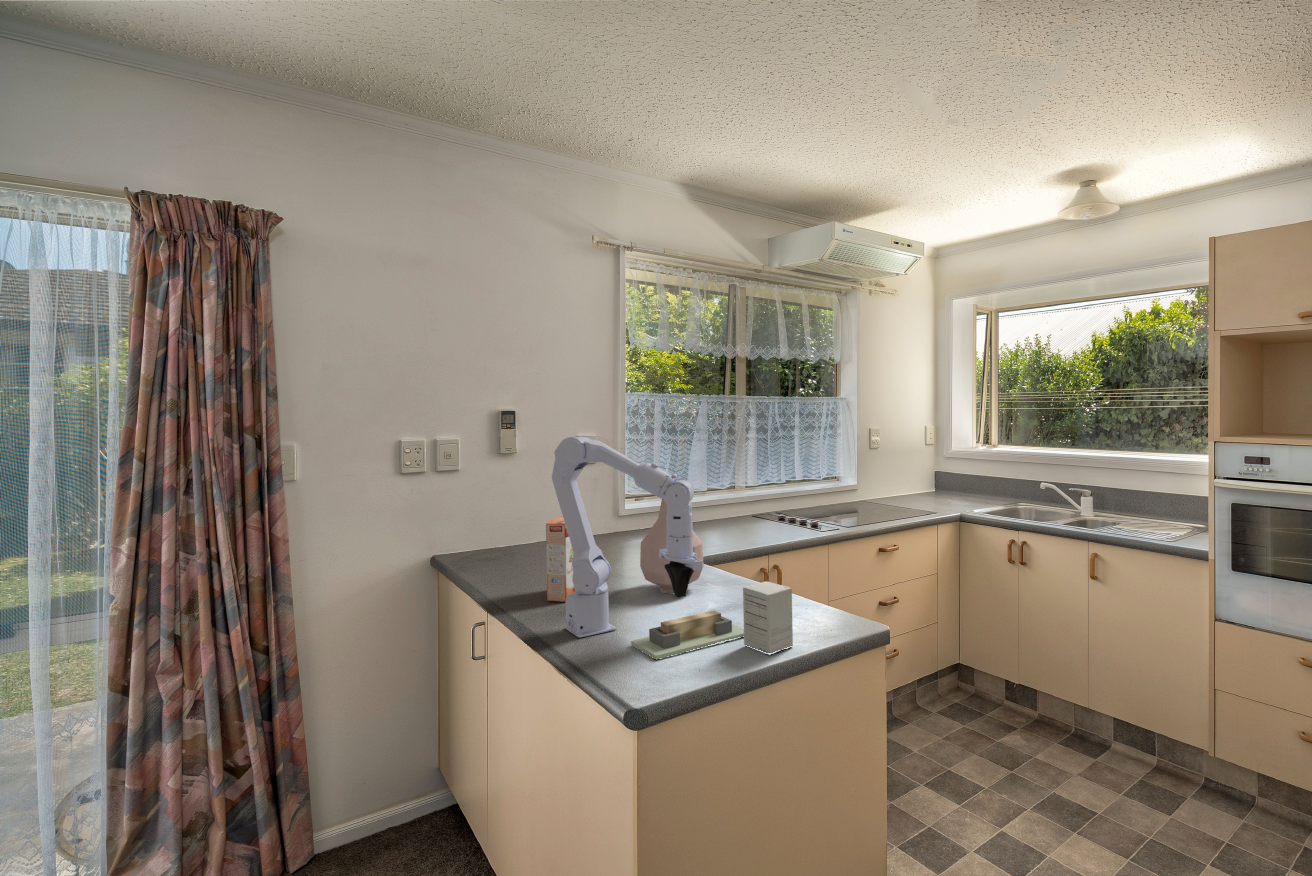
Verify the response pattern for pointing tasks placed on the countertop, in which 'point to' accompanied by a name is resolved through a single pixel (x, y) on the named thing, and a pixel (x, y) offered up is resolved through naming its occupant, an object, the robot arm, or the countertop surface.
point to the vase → (650, 553)
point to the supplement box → (767, 616)
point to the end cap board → (671, 645)
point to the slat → (692, 625)
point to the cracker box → (559, 561)
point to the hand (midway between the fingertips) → (680, 596)
